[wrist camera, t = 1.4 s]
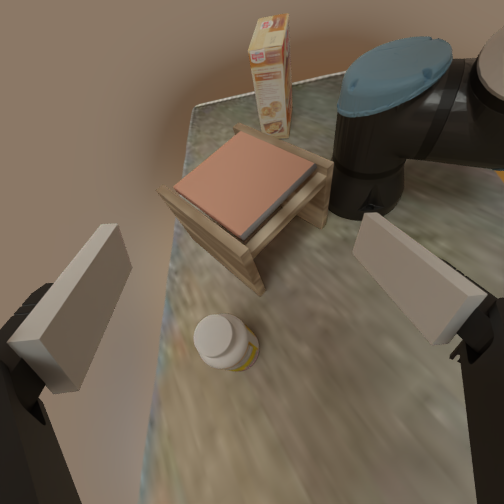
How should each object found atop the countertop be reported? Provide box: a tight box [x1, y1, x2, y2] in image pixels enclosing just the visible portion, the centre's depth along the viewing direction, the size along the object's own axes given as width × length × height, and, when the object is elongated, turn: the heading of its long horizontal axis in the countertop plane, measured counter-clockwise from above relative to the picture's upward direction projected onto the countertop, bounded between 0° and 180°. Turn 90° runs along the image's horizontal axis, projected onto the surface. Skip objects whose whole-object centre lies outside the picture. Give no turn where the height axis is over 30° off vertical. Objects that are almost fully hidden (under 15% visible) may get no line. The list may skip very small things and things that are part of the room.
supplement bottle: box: [194, 313, 259, 371], centre depth 33 cm, size 7×7×13 cm
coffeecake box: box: [248, 13, 293, 139], centre depth 56 cm, size 15×7×20 cm, turn 171°
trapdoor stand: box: [156, 123, 334, 297], centre depth 42 cm, size 19×20×15 cm
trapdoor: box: [174, 131, 317, 241], centre depth 35 cm, size 15×16×1 cm
